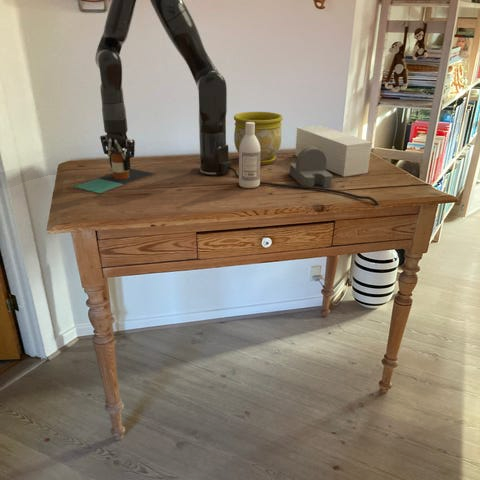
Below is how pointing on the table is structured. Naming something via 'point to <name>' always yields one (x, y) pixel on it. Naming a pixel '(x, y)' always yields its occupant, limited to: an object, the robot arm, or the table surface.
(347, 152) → the white rectangular box
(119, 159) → the soap bottle
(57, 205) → the table surface
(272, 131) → the flowerpot
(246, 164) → the bath foam
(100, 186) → the mat
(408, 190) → the table surface
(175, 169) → the table surface
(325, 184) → the bracket
